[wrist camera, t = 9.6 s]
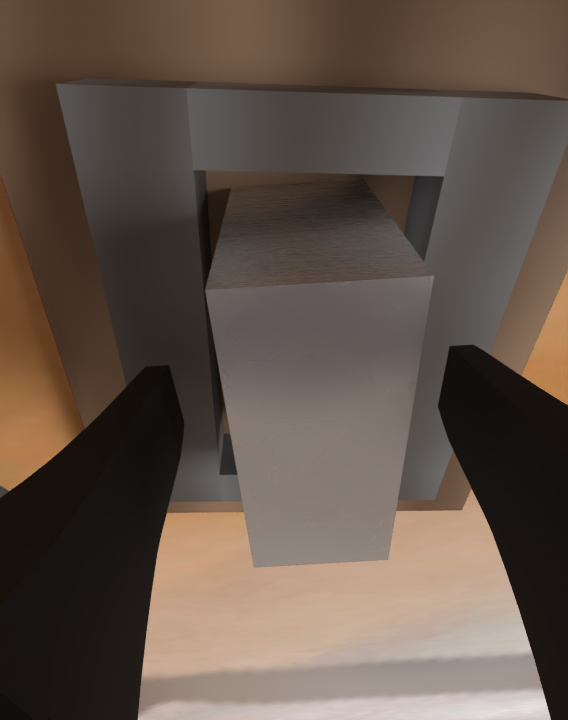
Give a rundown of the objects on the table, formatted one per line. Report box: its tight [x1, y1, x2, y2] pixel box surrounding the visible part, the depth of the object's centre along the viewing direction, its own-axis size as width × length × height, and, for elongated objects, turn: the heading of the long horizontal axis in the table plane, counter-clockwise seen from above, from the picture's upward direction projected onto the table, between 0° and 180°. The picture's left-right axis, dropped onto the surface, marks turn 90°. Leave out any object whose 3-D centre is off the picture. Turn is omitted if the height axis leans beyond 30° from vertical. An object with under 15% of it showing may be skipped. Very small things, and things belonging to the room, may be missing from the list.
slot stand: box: [0, 0, 568, 513], centre depth 14 cm, size 16×20×4 cm
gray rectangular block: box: [205, 179, 434, 567], centre depth 11 cm, size 4×8×6 cm, turn 3°
